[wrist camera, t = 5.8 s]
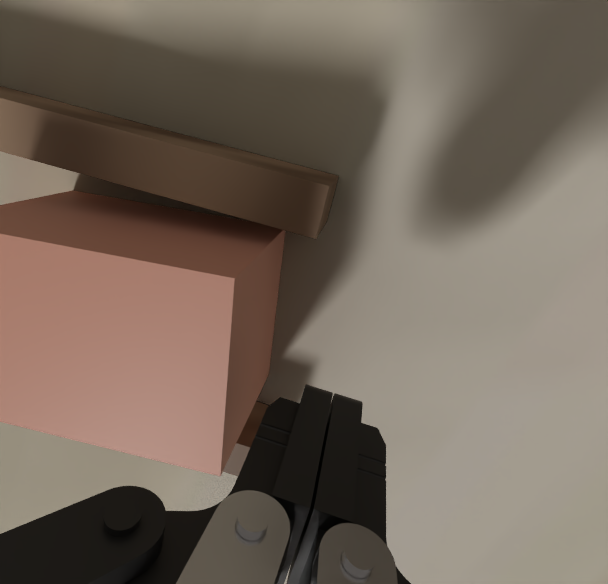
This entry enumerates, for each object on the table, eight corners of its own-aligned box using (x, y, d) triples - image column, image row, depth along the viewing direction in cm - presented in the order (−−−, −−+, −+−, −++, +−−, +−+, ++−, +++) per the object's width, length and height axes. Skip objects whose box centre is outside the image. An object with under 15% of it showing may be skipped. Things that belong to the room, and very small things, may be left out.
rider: (286, 226, 15) (234, 278, 10) (269, 372, 17) (220, 476, 12) (75, 189, 16) (-72, 219, 11) (86, 332, 18) (-31, 413, 13)
